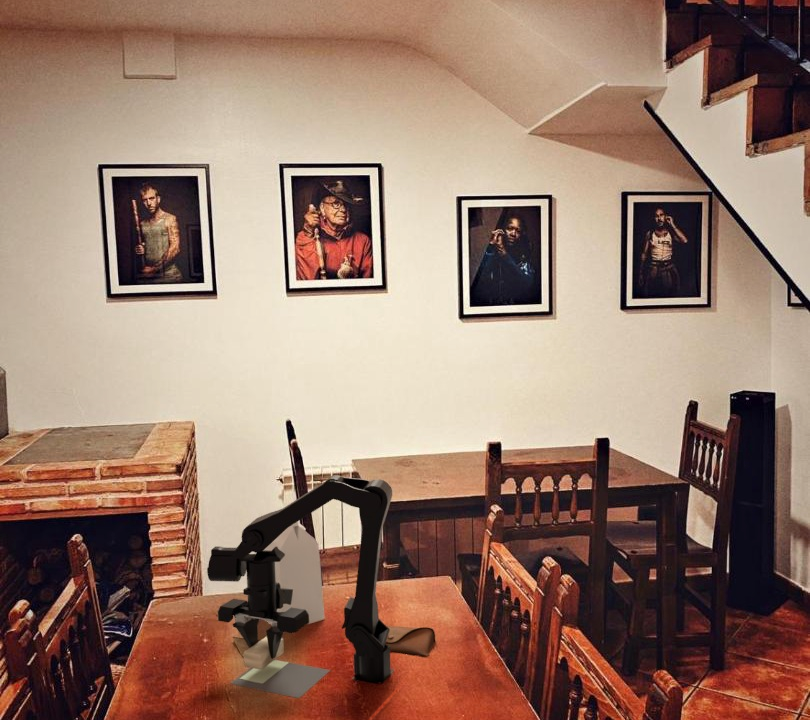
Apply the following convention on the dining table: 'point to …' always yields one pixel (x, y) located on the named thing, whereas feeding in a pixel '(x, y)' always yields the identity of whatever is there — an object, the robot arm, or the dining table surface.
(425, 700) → the dining table surface
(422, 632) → the sunglasses case
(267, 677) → the mat
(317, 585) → the milk
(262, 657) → the birch block
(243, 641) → the shard
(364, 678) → the robot arm
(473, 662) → the dining table surface
